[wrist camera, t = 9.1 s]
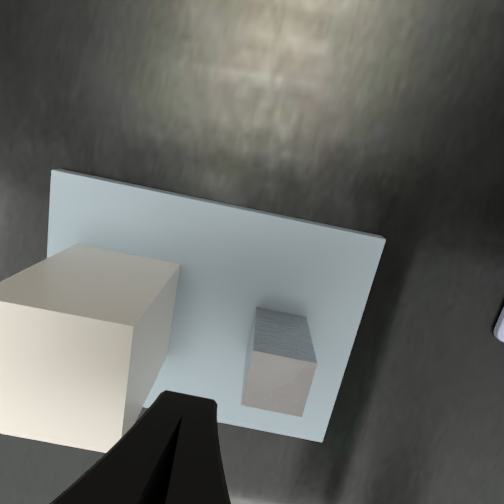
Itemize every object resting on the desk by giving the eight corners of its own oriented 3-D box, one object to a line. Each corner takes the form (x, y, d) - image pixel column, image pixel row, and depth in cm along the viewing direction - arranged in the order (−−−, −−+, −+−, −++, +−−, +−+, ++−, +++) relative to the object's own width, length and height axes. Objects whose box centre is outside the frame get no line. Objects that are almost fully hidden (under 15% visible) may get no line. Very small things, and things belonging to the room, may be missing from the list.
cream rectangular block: (180, 264, 18) (133, 326, 12) (167, 355, 19) (119, 455, 13) (76, 243, 18) (-28, 295, 12) (70, 337, 19) (-25, 428, 13)
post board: (380, 235, 18) (386, 239, 17) (320, 431, 21) (322, 442, 21) (60, 168, 18) (51, 169, 17) (48, 378, 21) (40, 386, 20)
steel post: (304, 310, 19) (317, 363, 15) (293, 352, 20) (302, 417, 15) (256, 300, 19) (253, 350, 14) (246, 343, 20) (240, 405, 15)
